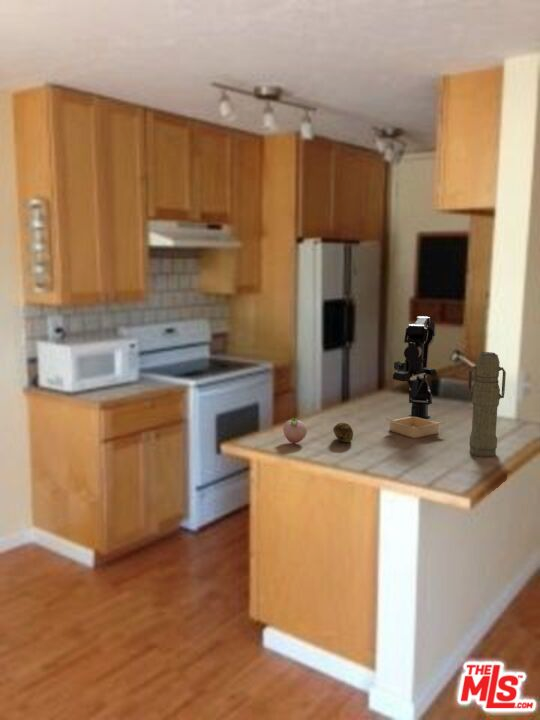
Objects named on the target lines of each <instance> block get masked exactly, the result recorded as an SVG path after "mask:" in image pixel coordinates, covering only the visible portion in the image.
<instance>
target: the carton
mask: <svg viewBox="0 0 540 720" xmlns="http://www.w3.org/2000/svg"><path fill="white" fill-rule="evenodd" d="M392 420H393V421H397V422H400V423H404V424H407V425H410V426H411V427H409V426H406V425H402V424H399V423H395V422H392V421H389V431H390V432H393V433H396V434H398V435H399V434H400V435H403V436H406V437H408V438H413V439H419V438H422V437H426V436H432V435H436V434H439V429H440V428H439V425H440V424H436V425H431V426H426V427H418V426H423V425H428V424H433V423H438V422H437V421H433V420H430V419H427V418H425V419H423V418H419V417H409V416H407V417H402V418H396V419H392Z"/></svg>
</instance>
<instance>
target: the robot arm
mask: <svg viewBox="0 0 540 720" xmlns="http://www.w3.org/2000/svg"><path fill="white" fill-rule="evenodd" d="M404 334H405V335H404V341H403V343H405V344H407V346H406V347H405V349H404V350H403V356H404V357H405V360H404V362H401V361H395V362H393V363H394V364H393V368H394V372H393V373H392V380H395V381H399V382H407V384H408V386H409V389H408V390H409V391H408V392H409V393H408V403H409V404H411V412H410V414H409V415H408V417H419V418H423V419H429V418H431V415H429V411H428V410H429V406H430V405H432V404H433V394H432V393H431V390H430V386H429V383H428V381H427V377H428V375H429V377H430V378H433V377H434V378H435V377H437V370H436V369H435V368H432V367H429V366H428V364H429V352H430V346H431V345H432V344H433V343H434V340H435V337H436V335H437V327H436V323H434V321H433V320H431V317H430V316H426V315H425V316H424V315H419V316H417V317H416V320H415V322H414V323H409V324H408V325H407V326H406V328H405V333H404Z"/></svg>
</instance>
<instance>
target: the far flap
mask: <svg viewBox="0 0 540 720" xmlns="http://www.w3.org/2000/svg"><path fill="white" fill-rule="evenodd" d="M386 420H387V421H389V422H390V421H392V422H395V423H399V424H402V425H406V426H409V427H411V426H410V425H407V424H404V423H400V422H397V421H393V420H394V419H389V418H385V421H386Z"/></svg>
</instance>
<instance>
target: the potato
mask: <svg viewBox="0 0 540 720" xmlns="http://www.w3.org/2000/svg"><path fill="white" fill-rule="evenodd" d="M332 431H333V433H334V436H335V438H336V439H337V440H338V441H340V442H343V443H350V442H351V441H352V440H353V436H354V431H353V428H352V426H351V425H350V424H349V423H347V422H346V423H345V422H338V423H337V424H336V425H334V426H333V428H332Z"/></svg>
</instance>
